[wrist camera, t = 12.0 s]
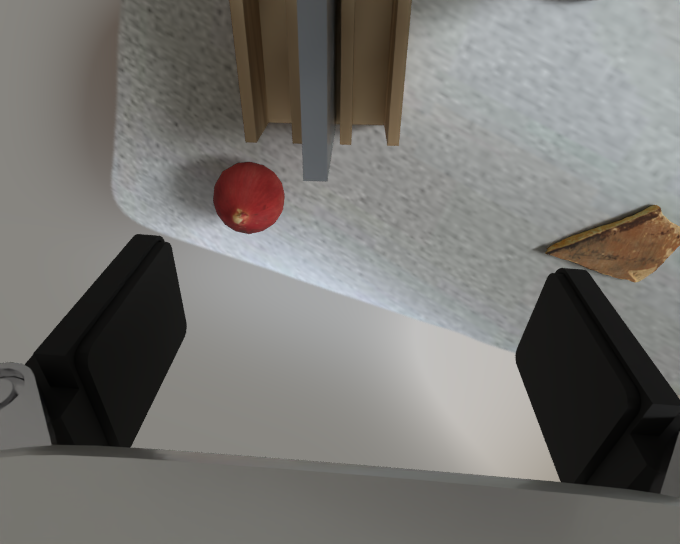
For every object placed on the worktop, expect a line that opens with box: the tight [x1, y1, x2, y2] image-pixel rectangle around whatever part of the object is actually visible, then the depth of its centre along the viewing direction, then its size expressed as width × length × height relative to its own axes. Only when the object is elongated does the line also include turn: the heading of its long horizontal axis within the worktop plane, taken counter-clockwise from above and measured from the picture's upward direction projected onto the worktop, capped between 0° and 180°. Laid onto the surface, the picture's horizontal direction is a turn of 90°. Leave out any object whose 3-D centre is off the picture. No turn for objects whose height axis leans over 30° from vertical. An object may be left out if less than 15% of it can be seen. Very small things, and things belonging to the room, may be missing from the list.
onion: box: [213, 162, 284, 234], centre depth 36 cm, size 6×6×8 cm
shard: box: [546, 205, 680, 282], centre depth 41 cm, size 11×8×2 cm
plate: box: [297, 0, 338, 181], centre depth 27 cm, size 1×12×12 cm, turn 179°
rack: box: [229, 0, 412, 146], centre depth 30 cm, size 12×12×6 cm
